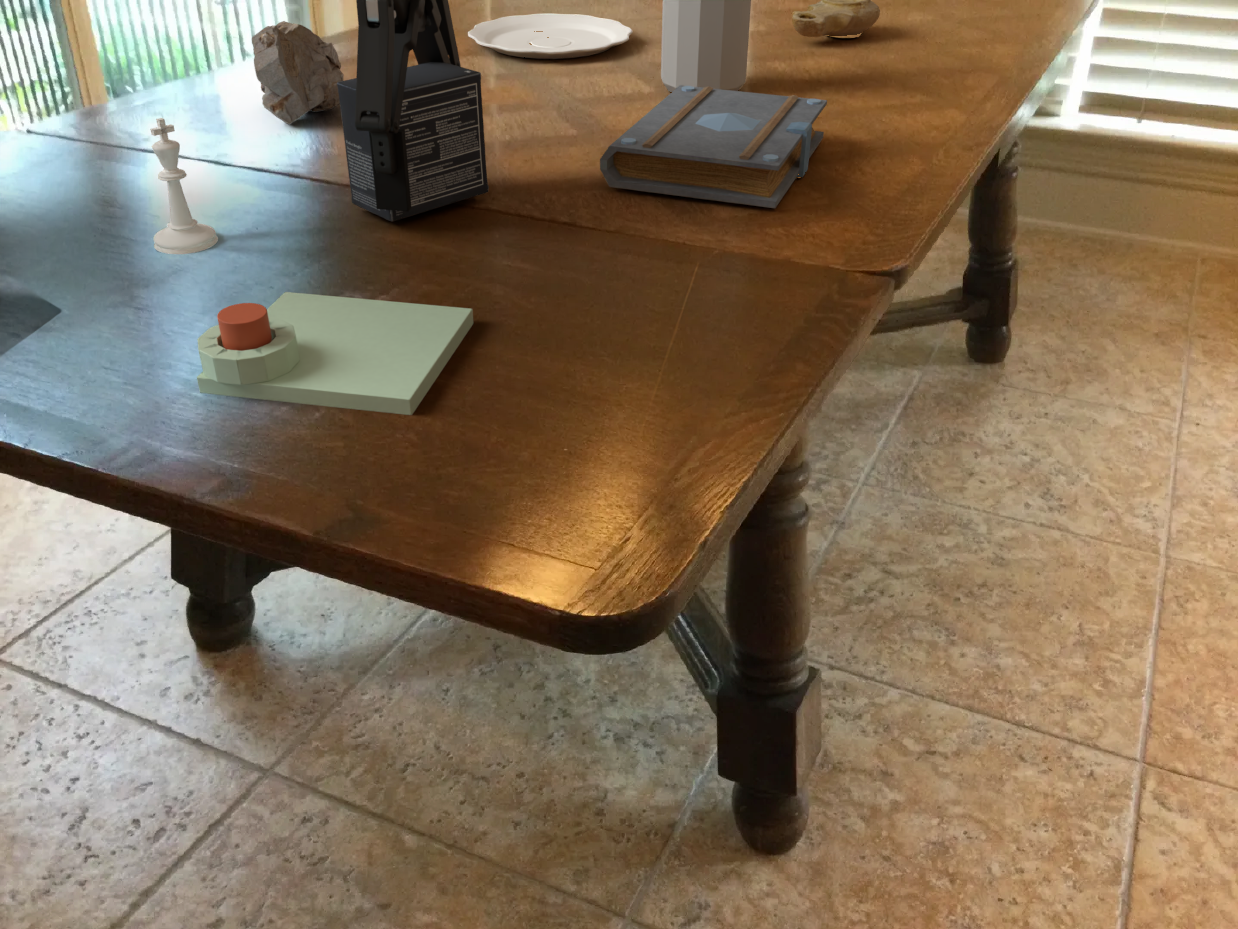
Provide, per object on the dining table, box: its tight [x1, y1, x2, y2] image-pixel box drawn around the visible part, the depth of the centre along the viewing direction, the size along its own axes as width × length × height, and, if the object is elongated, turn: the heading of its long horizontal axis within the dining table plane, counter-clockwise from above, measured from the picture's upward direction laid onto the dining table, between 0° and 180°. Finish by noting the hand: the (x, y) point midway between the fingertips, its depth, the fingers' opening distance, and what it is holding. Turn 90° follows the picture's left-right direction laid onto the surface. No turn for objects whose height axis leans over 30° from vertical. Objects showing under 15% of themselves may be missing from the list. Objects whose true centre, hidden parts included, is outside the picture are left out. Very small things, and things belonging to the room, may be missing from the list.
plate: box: [467, 12, 633, 60], centre depth 149 cm, size 21×21×2 cm
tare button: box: [216, 302, 272, 351], centre depth 72 cm, size 3×3×2 cm
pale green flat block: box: [196, 291, 474, 416], centre depth 76 cm, size 14×13×3 cm
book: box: [599, 85, 828, 209], centre depth 109 cm, size 21×16×5 cm
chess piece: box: [150, 117, 219, 255], centre depth 91 cm, size 5×5×10 cm
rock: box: [251, 20, 345, 125], centre depth 120 cm, size 9×12×10 cm
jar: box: [660, 0, 752, 93], centre depth 127 cm, size 10×10×18 cm
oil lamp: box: [791, 0, 881, 38], centre depth 152 cm, size 11×14×5 cm
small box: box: [337, 62, 490, 222], centre depth 98 cm, size 11×6×10 cm, turn 135°
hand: (419, 183), depth 100 cm, fingers closed on small box, 12 cm apart
